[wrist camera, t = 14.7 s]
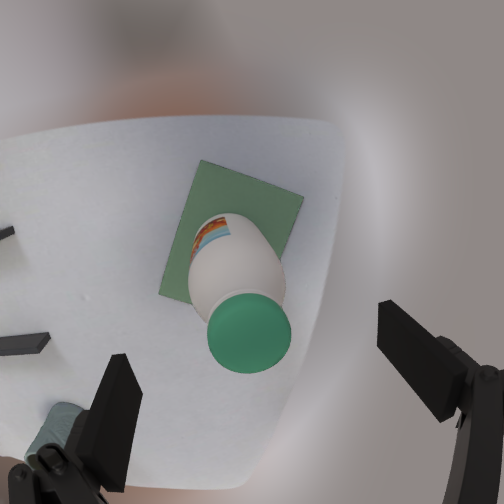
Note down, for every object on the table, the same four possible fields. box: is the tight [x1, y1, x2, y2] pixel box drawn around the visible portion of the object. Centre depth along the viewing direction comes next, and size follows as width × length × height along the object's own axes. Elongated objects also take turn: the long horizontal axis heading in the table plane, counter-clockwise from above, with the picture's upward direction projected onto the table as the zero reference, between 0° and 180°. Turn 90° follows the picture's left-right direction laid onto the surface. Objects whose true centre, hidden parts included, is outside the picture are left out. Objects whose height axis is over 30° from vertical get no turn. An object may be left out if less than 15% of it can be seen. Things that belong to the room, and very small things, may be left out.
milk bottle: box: [188, 213, 291, 373], centre depth 26 cm, size 8×8×20 cm
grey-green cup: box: [24, 402, 84, 471], centre depth 35 cm, size 10×10×12 cm
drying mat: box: [159, 160, 304, 304], centre depth 36 cm, size 16×12×1 cm
